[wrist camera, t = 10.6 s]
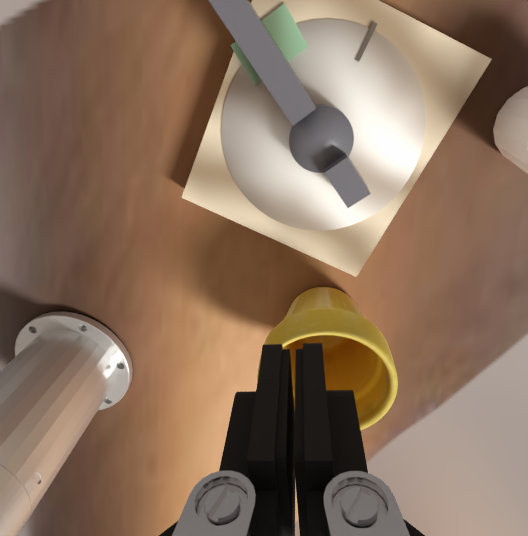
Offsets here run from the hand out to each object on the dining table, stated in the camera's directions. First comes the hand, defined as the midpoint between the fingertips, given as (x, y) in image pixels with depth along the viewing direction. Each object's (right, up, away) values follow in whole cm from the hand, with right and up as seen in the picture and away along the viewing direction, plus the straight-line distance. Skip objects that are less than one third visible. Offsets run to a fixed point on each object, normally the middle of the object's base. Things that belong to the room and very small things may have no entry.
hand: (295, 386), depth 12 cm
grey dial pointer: (+1, +16, +17) cm, 23 cm away
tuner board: (+3, +14, +20) cm, 25 cm away
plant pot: (+5, -1, +28) cm, 28 cm away
